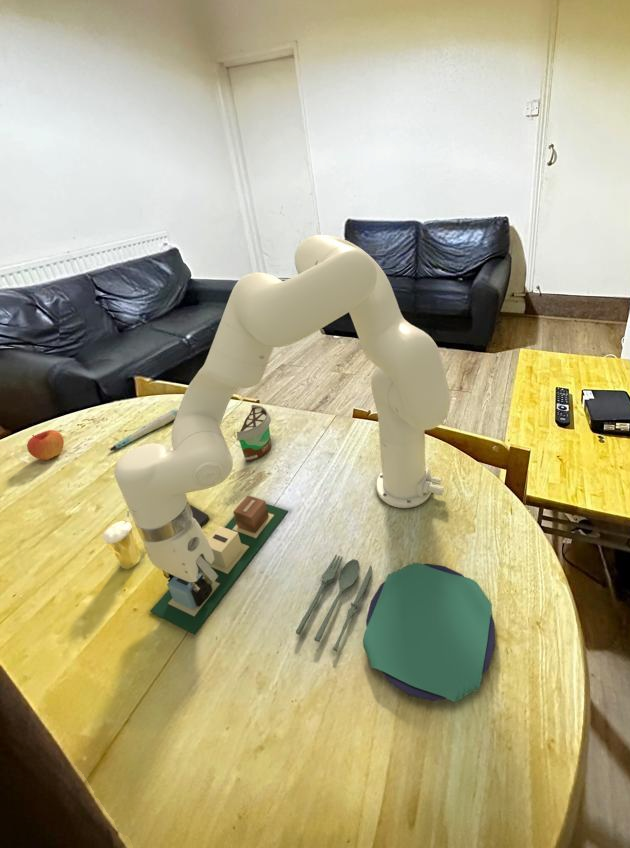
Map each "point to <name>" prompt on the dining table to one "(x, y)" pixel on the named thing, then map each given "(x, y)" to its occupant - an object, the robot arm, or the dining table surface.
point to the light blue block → (182, 592)
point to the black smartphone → (199, 515)
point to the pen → (148, 428)
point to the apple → (46, 445)
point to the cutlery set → (421, 628)
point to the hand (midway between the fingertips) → (193, 592)
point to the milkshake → (123, 543)
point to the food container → (255, 434)
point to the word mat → (220, 575)
